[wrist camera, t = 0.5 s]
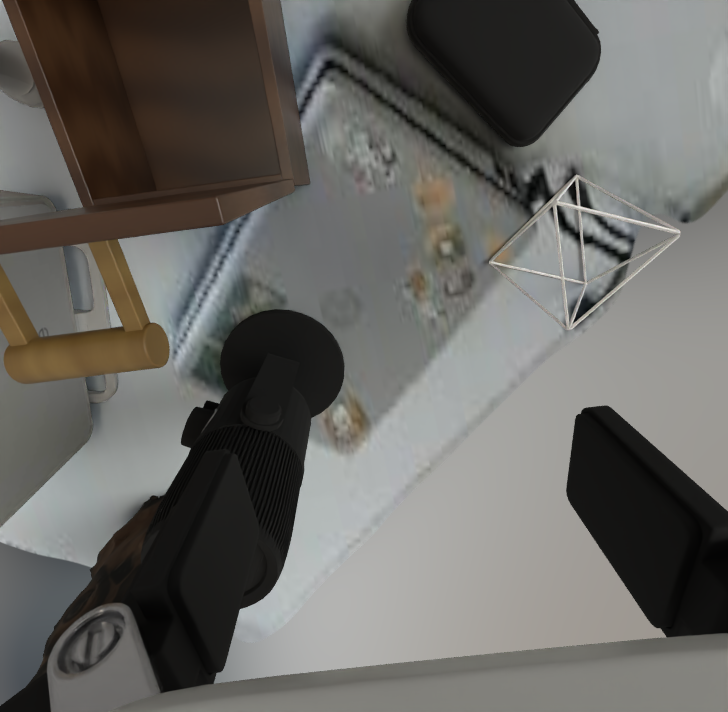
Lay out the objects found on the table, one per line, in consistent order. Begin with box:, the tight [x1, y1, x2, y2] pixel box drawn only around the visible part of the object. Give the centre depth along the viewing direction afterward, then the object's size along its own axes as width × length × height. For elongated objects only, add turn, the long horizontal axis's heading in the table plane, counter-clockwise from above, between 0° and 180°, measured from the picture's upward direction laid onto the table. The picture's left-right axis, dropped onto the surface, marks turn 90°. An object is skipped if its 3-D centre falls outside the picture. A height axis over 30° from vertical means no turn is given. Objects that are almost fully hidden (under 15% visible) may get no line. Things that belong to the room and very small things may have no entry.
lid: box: [0, 179, 295, 384], centre depth 20 cm, size 16×15×6 cm
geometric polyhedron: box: [489, 175, 680, 330], centre depth 35 cm, size 12×11×9 cm
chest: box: [2, 0, 310, 207], centre depth 28 cm, size 16×15×11 cm
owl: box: [27, 496, 164, 686], centre depth 43 cm, size 13×13×20 cm
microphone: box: [141, 310, 344, 609], centre depth 32 cm, size 14×14×25 cm
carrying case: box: [406, 0, 601, 147], centre depth 31 cm, size 11×3×15 cm
